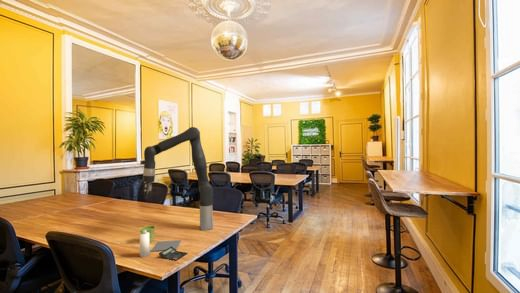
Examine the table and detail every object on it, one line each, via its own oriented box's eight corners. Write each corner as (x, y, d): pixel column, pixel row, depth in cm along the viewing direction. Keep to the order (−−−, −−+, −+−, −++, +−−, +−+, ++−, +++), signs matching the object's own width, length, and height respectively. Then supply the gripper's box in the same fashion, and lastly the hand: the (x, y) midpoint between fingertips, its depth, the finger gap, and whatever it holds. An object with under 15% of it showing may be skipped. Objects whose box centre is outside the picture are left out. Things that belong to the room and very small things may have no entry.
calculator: (176, 261, 126) (175, 255, 126) (158, 258, 130) (158, 252, 130) (187, 254, 135) (187, 248, 135) (171, 251, 139) (171, 246, 139)
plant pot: (141, 245, 148) (141, 231, 148) (138, 241, 155) (138, 227, 155) (157, 242, 153) (157, 228, 153) (154, 237, 161) (153, 224, 161)
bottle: (150, 252, 137) (150, 228, 137) (148, 256, 132) (147, 231, 132) (141, 253, 136) (141, 229, 136) (138, 257, 131) (137, 232, 131)
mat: (180, 241, 154) (180, 240, 154) (176, 250, 140) (176, 249, 140) (158, 242, 152) (157, 241, 152) (150, 251, 138) (150, 250, 138)
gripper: (152, 176, 162) (150, 200, 161) (156, 174, 176) (154, 196, 175) (140, 175, 161) (138, 200, 160) (145, 173, 174) (143, 196, 174)
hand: (147, 198), depth 168 cm, fingers open, 8 cm apart
